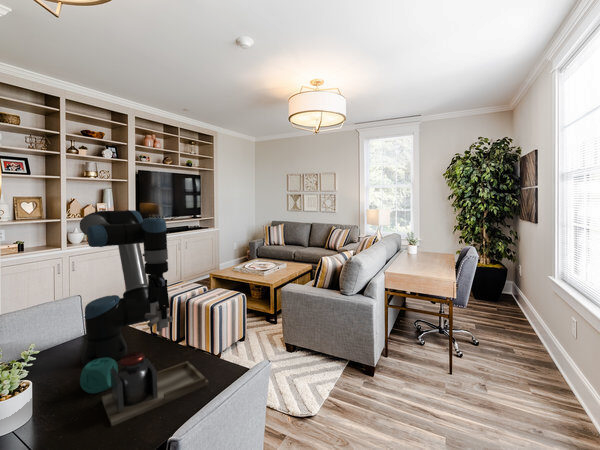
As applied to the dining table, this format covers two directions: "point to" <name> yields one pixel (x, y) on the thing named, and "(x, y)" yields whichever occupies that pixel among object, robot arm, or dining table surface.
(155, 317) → the pipe connector
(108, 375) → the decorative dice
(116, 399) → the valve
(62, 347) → the dining table surface
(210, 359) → the dining table surface
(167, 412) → the dining table surface
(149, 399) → the jig
